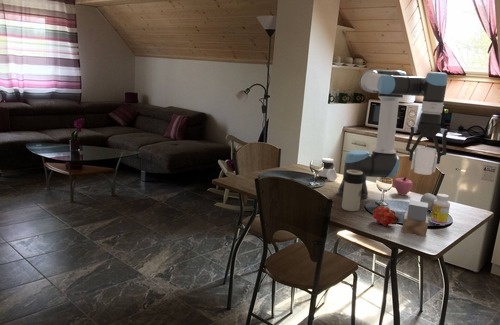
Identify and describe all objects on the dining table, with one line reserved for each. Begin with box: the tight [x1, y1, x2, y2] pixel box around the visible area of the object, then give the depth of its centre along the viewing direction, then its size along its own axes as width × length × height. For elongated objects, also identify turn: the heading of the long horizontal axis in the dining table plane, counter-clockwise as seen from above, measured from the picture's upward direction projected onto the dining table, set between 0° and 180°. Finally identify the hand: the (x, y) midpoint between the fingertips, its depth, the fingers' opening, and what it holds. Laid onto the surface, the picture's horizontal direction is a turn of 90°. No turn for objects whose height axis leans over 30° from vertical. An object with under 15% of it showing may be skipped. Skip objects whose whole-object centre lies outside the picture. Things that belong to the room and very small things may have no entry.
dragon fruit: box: [371, 205, 400, 228], centre depth 176 cm, size 8×8×12 cm
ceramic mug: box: [420, 192, 437, 212], centre depth 200 cm, size 11×8×8 cm
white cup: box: [413, 146, 437, 176], centre depth 166 cm, size 8×8×10 cm
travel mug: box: [341, 170, 363, 212], centre depth 193 cm, size 8×8×18 cm
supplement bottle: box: [429, 193, 451, 226], centre depth 182 cm, size 7×7×13 cm
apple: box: [393, 177, 414, 196], centre depth 224 cm, size 10×9×10 cm
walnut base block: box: [401, 212, 429, 238], centre depth 171 cm, size 9×9×6 cm
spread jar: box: [317, 157, 338, 182], centre depth 247 cm, size 12×11×12 cm
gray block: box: [407, 199, 429, 222], centre depth 170 cm, size 7×7×6 cm
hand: (422, 170), depth 167 cm, fingers closed on white cup, 7 cm apart
